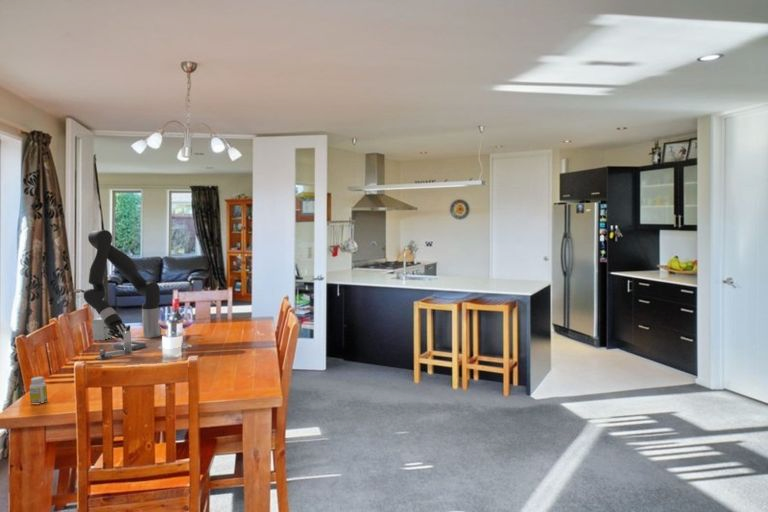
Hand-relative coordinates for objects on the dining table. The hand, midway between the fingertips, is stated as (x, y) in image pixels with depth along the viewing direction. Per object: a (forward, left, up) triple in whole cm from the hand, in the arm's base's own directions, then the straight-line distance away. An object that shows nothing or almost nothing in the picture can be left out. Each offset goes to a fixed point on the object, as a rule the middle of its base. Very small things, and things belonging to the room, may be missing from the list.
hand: (128, 342), depth 269 cm
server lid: (-8, -10, -6) cm, 14 cm away
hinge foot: (+12, -4, -6) cm, 14 cm away
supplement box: (-17, -44, -6) cm, 47 cm away
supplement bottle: (+66, +34, -6) cm, 75 cm away
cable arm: (+7, -1, -5) cm, 9 cm away
